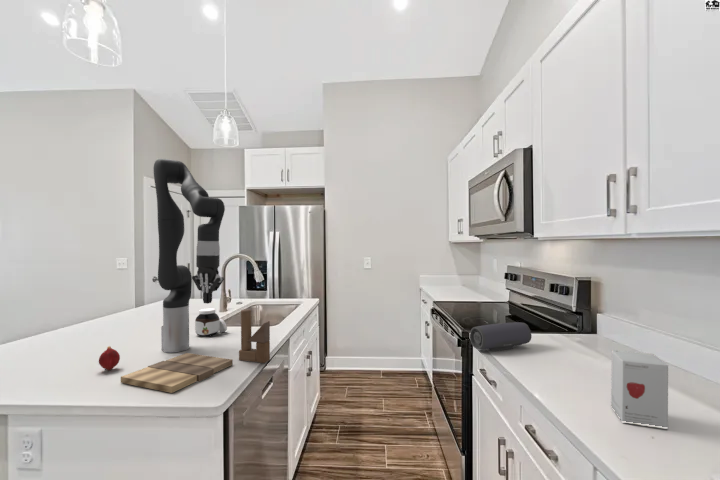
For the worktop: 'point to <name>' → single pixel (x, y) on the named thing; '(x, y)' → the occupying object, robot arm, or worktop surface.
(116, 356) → the onion
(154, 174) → the robot arm
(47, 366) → the worktop surface
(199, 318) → the spread jar
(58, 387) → the worktop surface
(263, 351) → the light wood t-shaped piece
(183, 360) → the oak plank far
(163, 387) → the oak plank near
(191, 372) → the mating board
